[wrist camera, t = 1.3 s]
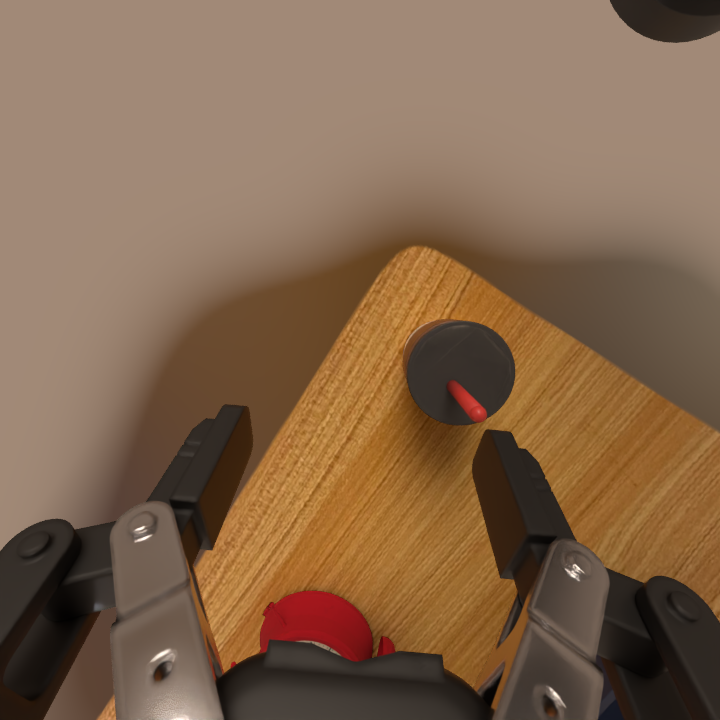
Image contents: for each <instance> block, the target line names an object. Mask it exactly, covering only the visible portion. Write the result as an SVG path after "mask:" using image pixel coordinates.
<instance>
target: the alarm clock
mask: <svg viewBox="0 0 720 720" xmlns="http://www.w3.org/2000/svg"><path fill="white" fill-rule="evenodd" d="M268 605H269V608H270V609H269V608H268V606H267V608H266V609H265V611H264V613H263V615H264V616H265V619H264V622H263V625H262V628H261V632H260V646H261V650H260V652H259V653H262V652H266V651H267V646H268V642H269V639H273V640H284V641H295V642H306V643H313V644H315V645H317V646H319V647H322V648H324V649H326V650H328V651H331V652H333V653H335V654H337V655H340V656H342V657H344V658H346V659H349V660H351V661H362V660H366V659H370V658H372V652H373V640H372V634H371V631H370V628H369V625H368V623H367V621H366V620H365V618H364V617H363V615H362V614H361V613H360V612H359V611H358V610H357V609H356V608H355V607H354V606H353V605H352V604H350V603H349V602H348V601H346V600H344V599H343V598H341V597H339V596H336V595H334V594H331V593H327V592H322V591H302V592H297V593H294V594H291V595H288V596H286V597H285V598H283V599H281V600H280V601H278V602H277V603H276V604H275V605H274V603H273V602H271V603H270V604H268ZM394 652H395V648H394V644H393V642H392V641H391V640H390V639H389V638H387V637H383V636H382V637H381V639H380V643H379V648H378V654H377V657H378V656H382V655H386V654H390V653H394ZM235 665H236V663H235V662H232V664H231V668H232V667H233V666H235Z"/></svg>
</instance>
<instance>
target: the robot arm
mask: <svg viewBox="0 0 720 720" xmlns="http://www.w3.org/2000/svg"><path fill="white" fill-rule="evenodd" d="M252 447H253V435H252V427H251V419H250V412H249V408H248V407H247V406H238V405H227V404H225V405H224V406H222V408H221V410H220V412H219V413H218V415H217V417H216V418H215V419H207V418H206V419H205V420H203V421H202V422H201V423H200V424H199V425H197V426H196V427H195V428H194V429H193V430H192V431H191V432H190V434H189V436H188V437H187V439H186V440H185V442H184V445H182V447H181V448H180V450H179V451H178V454H177V456H175V458H174V459H173V461H172V462H171V464H170V465H169V467H168V469H167V470H166V472H165V473H164V475H163V476H162V478H161V480H160V481H159V483H158V485H157V486H156V487H155V489H154V491H153V492H152V494H151V495H150V497H149V498H148V500H147V501H146V502H144V503H142V504H139V505H137V506H135V507H133V508H131V509H130V510H128V511H127V512H126V513H124V514H123V515H122V516H121V517H120V518H119V519H118V520H117V521H114V522H110V523H105V524H100V525H96V526H90V527H86V528H81V529H76V530H75V529H74V528H73V527H72V525H71V524H70V523H69V522H67V521H66V520H63V519H50V520H45V521H42V522H39V523H36V524H34V525H32V526H30V527H28V528H26V529H25V530H23V531H21V532H20V533H19V534H17V535H16V536H15V537H14V538H12V539H11V540H10V541H9V542H8V543H7V544H6V545H5V546H4V547H3V549H2V550H1V551H0V720H43V719H44V717H45V715H46V713H47V711H48V710H49V708H50V706H51V704H52V702H53V700H54V698H55V696H56V695H57V693H58V691H59V689H60V687H61V685H62V683H63V681H64V679H65V678H66V676H67V674H68V672H69V670H70V668H71V666H72V665H73V663H74V661H75V659H76V657H77V655H78V653H79V651H80V649H81V647H82V646H83V644H84V642H85V640H86V638H87V636H88V634H89V633H90V631H91V629H92V627H93V625H94V623H95V621H96V619H97V617H98V616H99V614H100V612H101V610H105V609H108V608H112V607H116V613H117V617H116V622H114V623H113V624H112V626H111V632H110V642H111V655H112V669H113V682H114V695H115V708H116V720H598V715H599V709H600V703H601V696H602V690H603V681H604V677H603V671H602V669H601V668H600V667H599V666H598V665H597V664H596V655H599V656H600V657H601V660H602V663H603V665H604V668H605V670H606V673H607V676H608V678H609V681H610V684H611V686H612V689H613V692H614V694H615V697H616V700H617V702H618V705H619V708H620V710H621V713H622V716H623V718H624V720H720V622H719V621H718V619H717V618H716V616H715V615H714V613H713V612H712V610H711V609H710V608H709V606H708V605H707V604H706V603H705V602H704V601H703V600H702V599H701V598H700V597H699V596H698V595H697V594H696V593H695V592H694V591H693V590H691V589H690V588H688V587H687V586H686V585H684V584H682V583H681V582H679V581H677V580H675V579H672V578H669V577H665V576H654V577H652V578H651V579H649V580H648V581H647V582H646V583H642V582H640V581H637V580H635V579H632V578H630V577H627V576H625V575H622V574H620V573H617V572H615V571H612V570H610V569H608V568H606V567H605V566H604V565H603V563H602V562H601V560H600V559H599V558H598V557H597V556H596V555H595V554H594V553H593V552H592V551H591V550H590V549H588V548H587V547H586V546H584V545H582V544H581V543H579V542H577V540H576V539H575V537H574V535H573V533H572V531H571V529H570V527H569V525H568V522H567V520H566V518H565V516H564V514H563V512H562V510H561V508H560V506H559V504H558V502H557V500H556V498H555V496H554V494H553V492H551V487H550V485H549V483H548V481H547V479H545V475H544V473H543V471H542V469H541V467H540V465H539V463H538V461H537V460H536V459H535V458H534V457H533V456H532V455H531V454H530V453H529V452H528V451H527V450H526V449H521V448H518V446H517V443H516V441H515V439H514V437H513V435H512V433H511V432H509V431H498V430H485V432H484V434H483V436H482V439H481V441H480V444H479V446H478V449H477V451H476V454H475V456H474V459H473V464H472V474H473V479H474V483H475V487H476V490H477V494H478V498H479V502H480V505H481V509H482V513H483V516H484V520H485V524H486V527H487V531H488V535H489V538H490V542H491V546H492V549H493V553H494V557H495V560H496V564H497V568H498V571H499V575H500V578H504V579H514V581H515V584H516V587H517V591H516V593H515V594H514V597H513V599H512V602H511V604H510V607H509V609H508V612H507V614H506V617H505V619H504V621H503V624H502V626H501V629H500V631H499V634H498V636H497V639H496V641H495V644H494V646H493V649H492V651H491V653H490V655H489V657H488V659H487V661H486V663H485V665H484V666H483V668H482V670H481V672H480V674H479V676H478V678H477V681H476V683H475V685H474V688H472V687H471V686H470V685H469V684H467V683H466V682H465V681H464V680H462V679H461V678H460V677H458V676H457V675H455V674H454V673H452V672H450V671H449V670H446V669H444V666H443V657H442V655H438V654H427V653H416V652H405V651H398V652H394V653H390V654H386V655H382V656H378V657H374V658H370V659H366V660H362V661H351V660H349V659H346V658H344V657H342V656H340V655H337V654H335V653H333V652H331V651H328V650H326V649H324V648H322V647H319V646H317V645H315V644H313V643H306V642H295V641H284V640H273V639H269V642H268V646H267V651H266V652H262V653H258V654H256V655H253V656H251V657H248V658H247V659H245V660H243V661H241V662H239V663H238V664H236V665H235V666H233V667H232V668H231V669H229V670H228V671H226V672H225V673H224V671H223V668H222V664H221V660H220V657H219V653H218V650H217V647H216V643H215V640H214V637H213V634H212V631H211V627H210V624H209V620H208V616H207V613H206V609H205V605H204V602H203V598H202V594H201V591H200V587H199V583H198V579H197V576H196V572H195V568H194V565H193V564H194V561H195V559H196V557H197V554H198V552H199V550H200V549H203V550H213V547H214V545H215V542H216V540H217V537H218V535H219V532H220V530H221V527H222V525H223V522H224V520H225V517H226V515H227V512H228V510H229V507H230V505H231V502H232V500H233V498H234V495H235V492H236V490H237V488H238V485H239V483H240V480H241V478H242V475H243V473H244V470H245V468H246V465H247V463H248V460H249V458H250V455H251V452H252Z"/></svg>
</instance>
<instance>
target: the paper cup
mask: <svg viewBox="0 0 720 720" xmlns="http://www.w3.org/2000/svg"><path fill="white" fill-rule="evenodd" d="M403 369H404V373H405V377H406V380H407V383H408V386H409V390H410V393H411V395H412V397H413V399H414V401H415V402H416V404H417V405H418V406H419V408H420V409H421V410H422V411H423V412H424V413H426V414H427V415H428V416H430V417H431V418H433V419H435V420H437V421H439V422H442V423H446V424H449V425H470V424H474V423H481V422H483V421H484V420H485V419H487V418H488V417H490V416H492V415H493V414H494V413H496V412H497V411H498V410H499V409H500V408H501V407H502V406H503V404H504V403H505V402H506V400H507V399H508V397H509V395H510V393H511V391H512V388H513V385H514V380H515V363H514V359H513V356H512V353H511V351H510V349H509V347H508V345H507V344H506V342H505V341H504V340H503V338H501V337H500V336H499V335H498V334H497V333H496V332H495V331H493V330H492V329H490V328H488V327H486V326H484V325H482V324H479V323H475V322H470V321H461V320H452V319H441V320H436V321H431V322H428V323H425V324H423V325H421V326H420V327H418V328H417V329H416V330H415V331H414V332H413V333H412V334H411V335H410V337H409V338H408V340H407V342H406V344H405V347H404V351H403Z"/></svg>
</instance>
